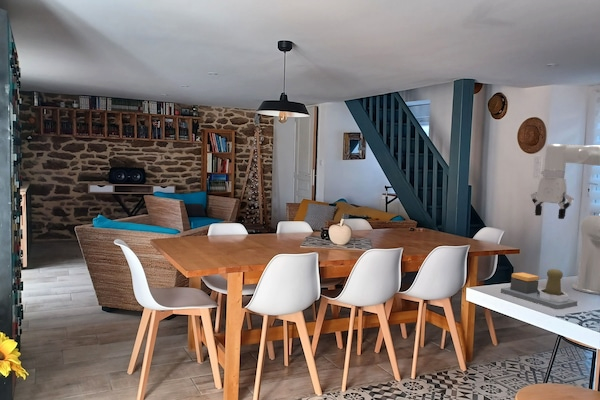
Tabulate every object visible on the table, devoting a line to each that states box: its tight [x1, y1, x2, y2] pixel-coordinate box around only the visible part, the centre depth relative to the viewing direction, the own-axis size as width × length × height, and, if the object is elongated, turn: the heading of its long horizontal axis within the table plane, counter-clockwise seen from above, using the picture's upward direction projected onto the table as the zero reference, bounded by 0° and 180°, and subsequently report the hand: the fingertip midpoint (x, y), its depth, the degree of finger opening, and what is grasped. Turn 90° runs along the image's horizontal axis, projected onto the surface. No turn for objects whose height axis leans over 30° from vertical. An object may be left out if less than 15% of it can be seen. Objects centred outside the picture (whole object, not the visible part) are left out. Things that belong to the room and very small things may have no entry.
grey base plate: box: [500, 277, 578, 310], centre depth 190 cm, size 13×23×6 cm, turn 33°
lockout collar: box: [537, 287, 569, 303], centre depth 185 cm, size 10×10×2 cm
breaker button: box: [511, 271, 540, 281], centre depth 195 cm, size 7×7×4 cm
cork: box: [544, 268, 564, 295], centre depth 185 cm, size 6×6×11 cm
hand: (549, 217), depth 201 cm, fingers open, 9 cm apart
